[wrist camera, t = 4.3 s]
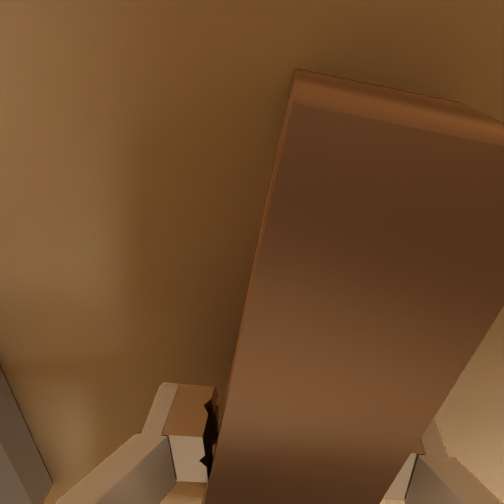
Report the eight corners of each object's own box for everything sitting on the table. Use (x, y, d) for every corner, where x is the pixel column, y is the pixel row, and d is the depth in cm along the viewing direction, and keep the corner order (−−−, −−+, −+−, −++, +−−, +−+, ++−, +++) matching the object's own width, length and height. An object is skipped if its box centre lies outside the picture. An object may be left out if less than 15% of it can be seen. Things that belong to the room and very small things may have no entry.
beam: (294, 67, 8) (293, 102, 5) (456, 101, 8) (591, 164, 5) (205, 487, 16) (176, 630, 13) (288, 504, 16) (285, 652, 13)
